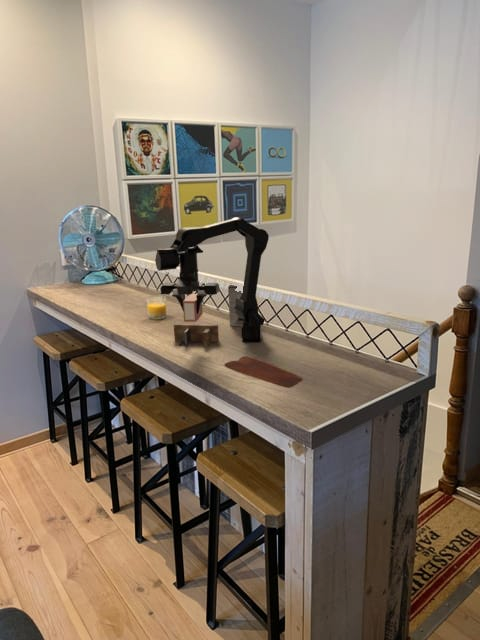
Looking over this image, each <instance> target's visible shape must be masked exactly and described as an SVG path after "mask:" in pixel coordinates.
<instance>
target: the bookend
mask: <svg viewBox="0 0 480 640" xmlns="http://www.w3.org/2000/svg"><path fill="white" fill-rule="evenodd" d="M184 338H185V340H183V341H181V342H180V343H179V344H178V345H179V346H182V347H183V346H184V347H185V346H187V347H188V346H189V344H191V342H192V341H191V336H190V328H187V329H186V331H185V332H184Z"/></svg>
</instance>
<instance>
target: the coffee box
mask: <svg viewBox="0 0 480 640" xmlns="http://www.w3.org/2000/svg"><path fill="white" fill-rule="evenodd" d="M236 288H237V286H234V285H231V284H229V285H228V286H227V290H228V291H227V292H228V311H229V315H228V316H229V326H231V327H242V326H243V323H244V322H243V321H241V319H240V317H238V316H237V314H236V310H235V309H234V308H235V305H236V298H239V299H240V297H241V295H242V293H241V291H239V292H237V291H235V289H236Z"/></svg>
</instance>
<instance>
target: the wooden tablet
mask: <svg viewBox="0 0 480 640" xmlns="http://www.w3.org/2000/svg"><path fill="white" fill-rule="evenodd" d="M223 366H225V367H227V368H229V369H232V370H234V371H236V372H239V373H241V374H245V375H247V376H249V377H253V378H254V379H255V378H256V379H257V380H258V379H259V380H262V381H264V382H267V383H271V384H273V385H275V386H276V385H277V386H279V387H284V388H292V387H294V386H297V385H298V384H299V383H301V382H302V381H304V378H303V377H301V376H300V375H297V374H295V373H293V372H291V371H287V370H286V369H283V368H281V367H279V366H276V365H273V364H271V363H267V362H266V361H263V360H261V359H257V358H255V357H250V356H248V355H244V356H241V357H240V358H239V359H238V360H231V361H227V362H225V363H224V365H223Z"/></svg>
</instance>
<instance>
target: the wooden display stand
mask: <svg viewBox="0 0 480 640" xmlns="http://www.w3.org/2000/svg"><path fill="white" fill-rule="evenodd" d="M187 328H190V336H191V342H203V346H204V347H208V346H210V344H211V343H213V342H215V343H216V342H219V340H220V338H219V337H220V336H219V324H217V323H215V324H209V323H208V324H205V323H174V324H173V332H174V333H173V334H174V341H175V342H176V341H177V342H180V341H181V342H182V341H183V340H185V338H184V332H185V331H186V329H187Z"/></svg>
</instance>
